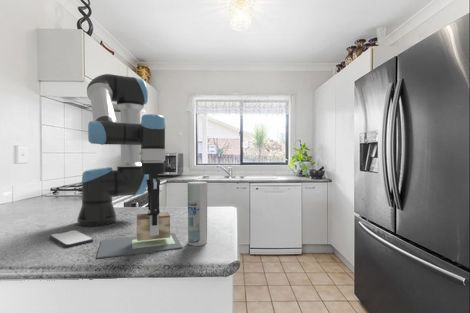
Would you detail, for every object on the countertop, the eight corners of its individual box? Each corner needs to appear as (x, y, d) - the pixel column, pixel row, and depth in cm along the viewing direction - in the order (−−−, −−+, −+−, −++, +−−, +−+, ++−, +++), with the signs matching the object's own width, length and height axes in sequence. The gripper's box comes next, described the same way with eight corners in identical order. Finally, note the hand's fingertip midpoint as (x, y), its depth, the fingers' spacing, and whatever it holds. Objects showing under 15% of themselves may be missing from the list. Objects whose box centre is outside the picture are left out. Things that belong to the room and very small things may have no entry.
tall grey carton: (183, 242, 91) (183, 182, 90) (198, 238, 95) (198, 181, 95) (196, 247, 86) (196, 183, 86) (211, 242, 91) (211, 182, 91)
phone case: (95, 243, 92) (75, 233, 102) (95, 238, 92) (75, 229, 102) (65, 250, 85) (48, 239, 95) (65, 245, 85) (48, 234, 95)
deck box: (167, 232, 95) (167, 212, 95) (170, 237, 89) (170, 215, 89) (136, 235, 91) (136, 214, 91) (137, 241, 85) (137, 218, 85)
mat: (101, 241, 92) (101, 239, 92) (173, 233, 101) (173, 232, 101) (96, 258, 76) (96, 257, 76) (182, 248, 85) (182, 246, 85)
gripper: (139, 161, 98) (140, 226, 98) (142, 162, 80) (142, 242, 80) (161, 161, 100) (161, 224, 100) (168, 162, 83) (169, 239, 83)
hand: (153, 232), depth 90 cm, fingers closed on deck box, 6 cm apart
